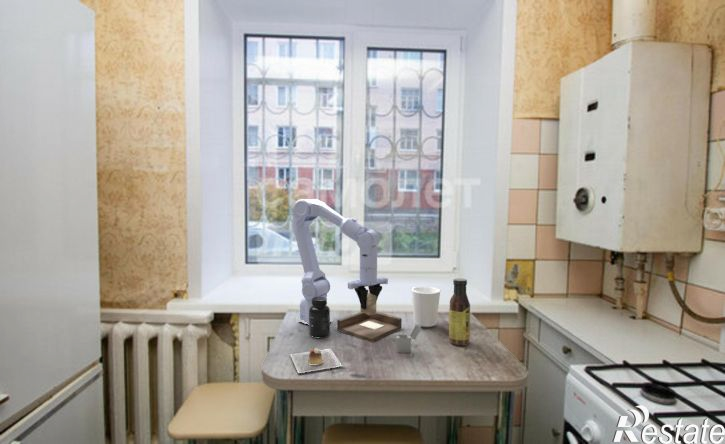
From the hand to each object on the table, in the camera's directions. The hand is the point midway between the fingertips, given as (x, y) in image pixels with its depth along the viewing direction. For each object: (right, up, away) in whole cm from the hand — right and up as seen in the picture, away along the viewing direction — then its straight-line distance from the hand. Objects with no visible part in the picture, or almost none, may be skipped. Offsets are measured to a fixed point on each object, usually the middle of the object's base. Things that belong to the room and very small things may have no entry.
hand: (368, 307), depth 127 cm
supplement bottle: (-16, -9, -1) cm, 18 cm away
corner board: (+1, -8, +3) cm, 9 cm away
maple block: (0, -2, 0) cm, 2 cm away
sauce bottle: (+28, -9, -7) cm, 31 cm away
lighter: (+12, -10, -14) cm, 21 cm away
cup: (+20, -8, +8) cm, 23 cm away
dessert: (-15, -11, -21) cm, 28 cm away
